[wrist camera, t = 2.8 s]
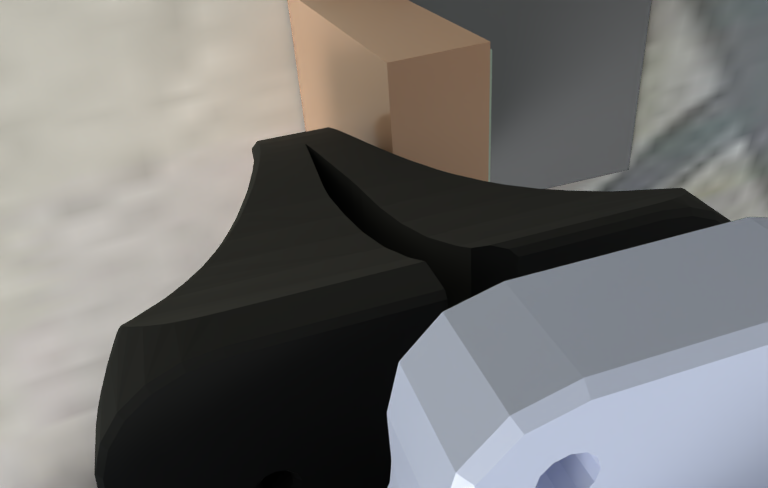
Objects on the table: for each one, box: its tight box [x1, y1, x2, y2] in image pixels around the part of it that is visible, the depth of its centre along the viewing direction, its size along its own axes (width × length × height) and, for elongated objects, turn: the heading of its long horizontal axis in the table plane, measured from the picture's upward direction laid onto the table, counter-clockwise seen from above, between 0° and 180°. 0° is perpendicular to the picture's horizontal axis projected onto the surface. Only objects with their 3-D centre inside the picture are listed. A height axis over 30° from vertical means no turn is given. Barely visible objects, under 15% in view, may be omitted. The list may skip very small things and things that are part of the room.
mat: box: [409, 0, 652, 189], centre depth 16 cm, size 6×6×1 cm
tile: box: [287, 0, 492, 182], centre depth 13 cm, size 5×2×5 cm, turn 4°
